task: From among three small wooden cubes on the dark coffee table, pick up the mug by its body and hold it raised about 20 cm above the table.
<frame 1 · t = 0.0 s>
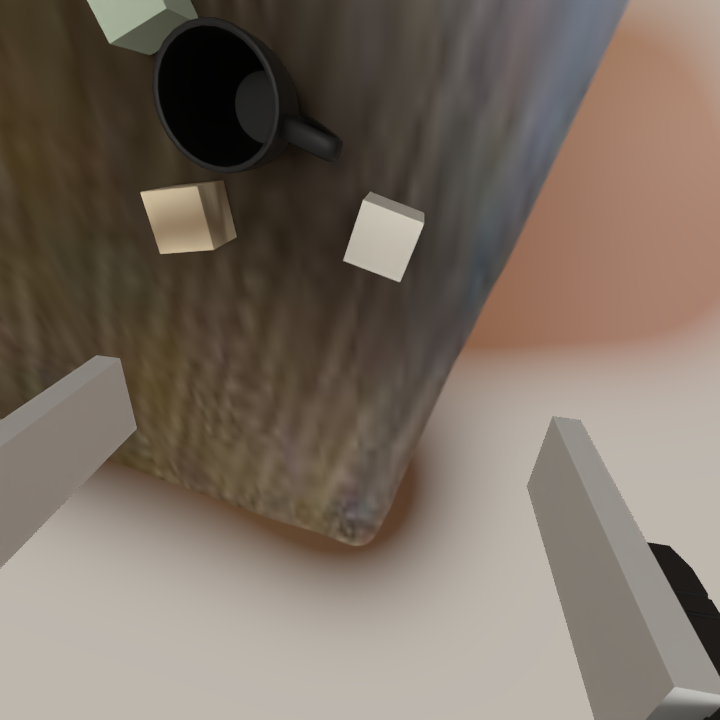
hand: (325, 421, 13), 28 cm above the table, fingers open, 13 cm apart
mug: (288, 119, 34), on the table
maple cube: (205, 211, 39), on the table
cream cube: (387, 229, 37), on the table
sage cube: (158, 2, 32), on the table
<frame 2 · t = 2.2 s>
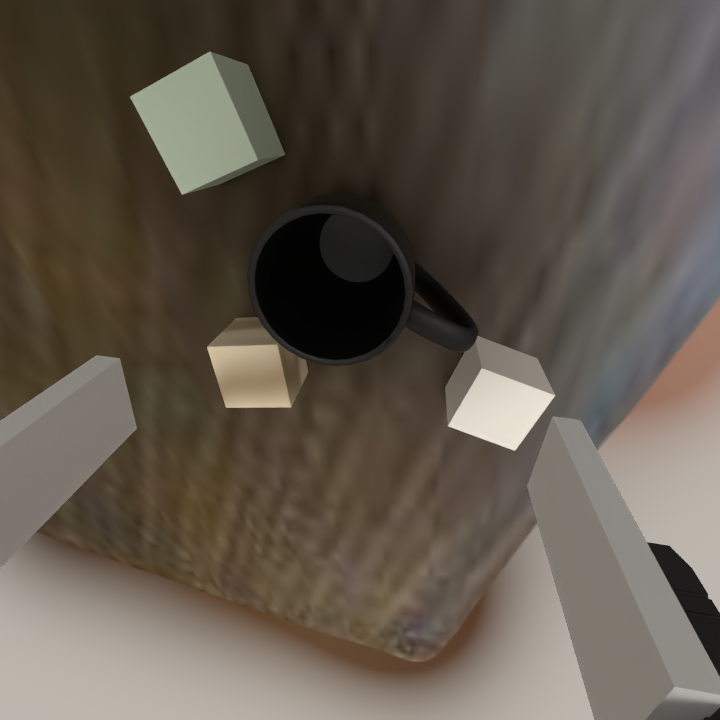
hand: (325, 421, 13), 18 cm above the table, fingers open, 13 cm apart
mug: (382, 256, 29), on the table
maple cube: (273, 345, 33), on the table
cream cube: (489, 372, 32), on the table
sage cube: (233, 128, 26), on the table
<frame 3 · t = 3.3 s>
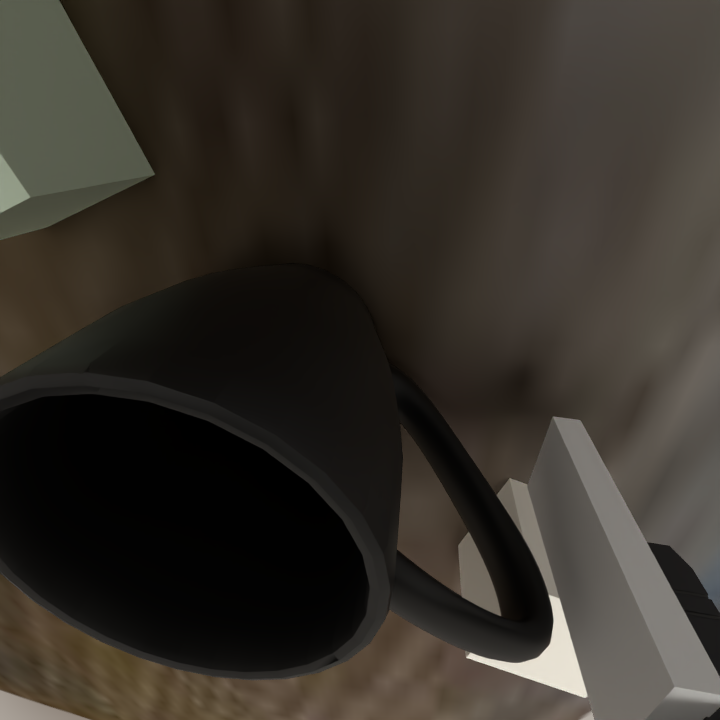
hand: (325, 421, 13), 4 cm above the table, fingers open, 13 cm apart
mug: (349, 353, 16), on the table
cream cube: (532, 530, 19), on the table
sage cube: (51, 124, 13), on the table
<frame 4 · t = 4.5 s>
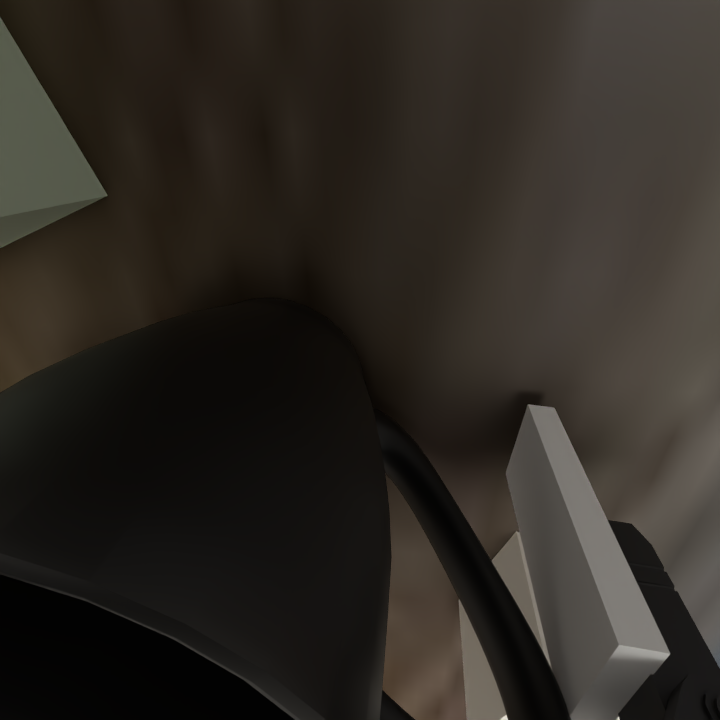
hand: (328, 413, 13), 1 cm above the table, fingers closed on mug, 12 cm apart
mug: (334, 396, 14), on the table, touching gripper
cream cube: (541, 586, 17), on the table
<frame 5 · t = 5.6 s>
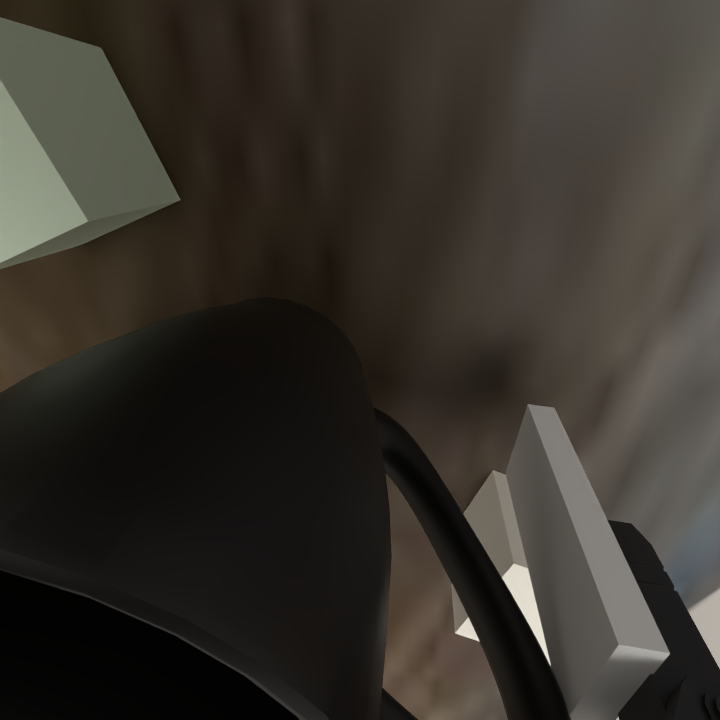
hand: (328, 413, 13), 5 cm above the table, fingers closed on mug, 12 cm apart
mug: (334, 395, 14), point 4 cm above the table, touching gripper
cream cube: (515, 520, 21), on the table
sage cube: (91, 156, 15), on the table
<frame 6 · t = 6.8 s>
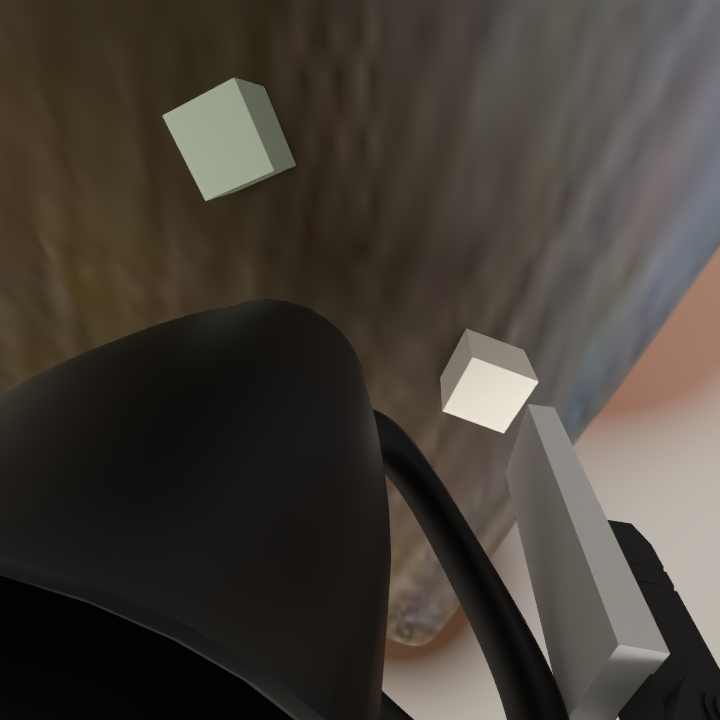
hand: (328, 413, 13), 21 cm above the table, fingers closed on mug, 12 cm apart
mug: (334, 397, 14), point 20 cm above the table, touching gripper
cream cube: (480, 363, 35), on the table
sage cube: (249, 142, 29), on the table
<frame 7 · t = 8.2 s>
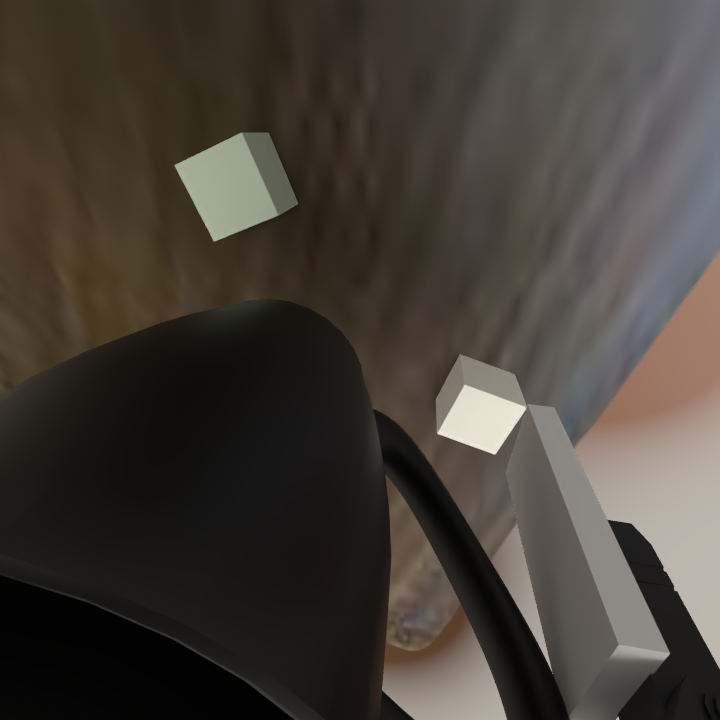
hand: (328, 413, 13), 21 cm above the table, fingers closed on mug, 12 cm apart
mug: (334, 396, 14), point 20 cm above the table, touching gripper
cream cube: (473, 386, 36), on the table
sage cube: (254, 182, 31), on the table
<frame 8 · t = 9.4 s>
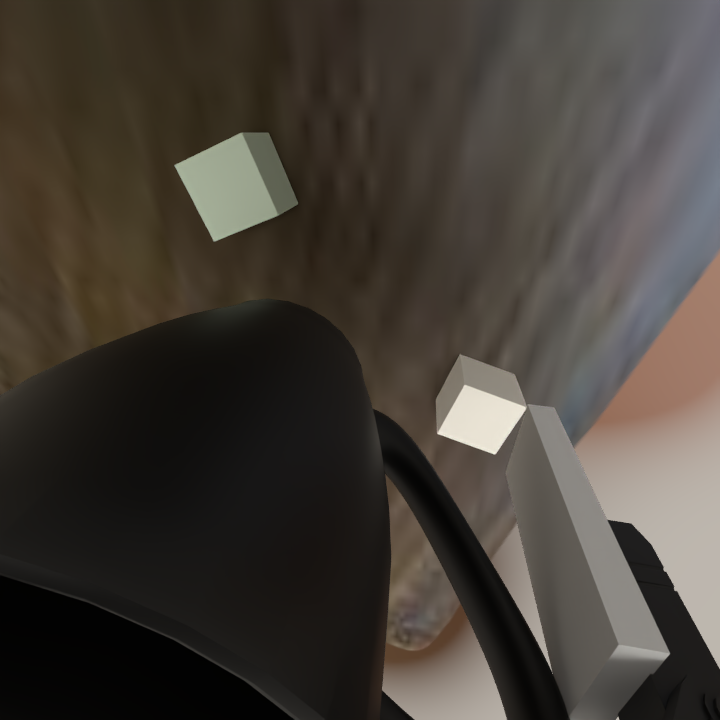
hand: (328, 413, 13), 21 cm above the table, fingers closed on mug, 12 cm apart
mug: (334, 396, 14), point 20 cm above the table, touching gripper
cream cube: (473, 386, 36), on the table
sage cube: (254, 182, 31), on the table
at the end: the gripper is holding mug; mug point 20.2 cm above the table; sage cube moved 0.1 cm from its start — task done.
